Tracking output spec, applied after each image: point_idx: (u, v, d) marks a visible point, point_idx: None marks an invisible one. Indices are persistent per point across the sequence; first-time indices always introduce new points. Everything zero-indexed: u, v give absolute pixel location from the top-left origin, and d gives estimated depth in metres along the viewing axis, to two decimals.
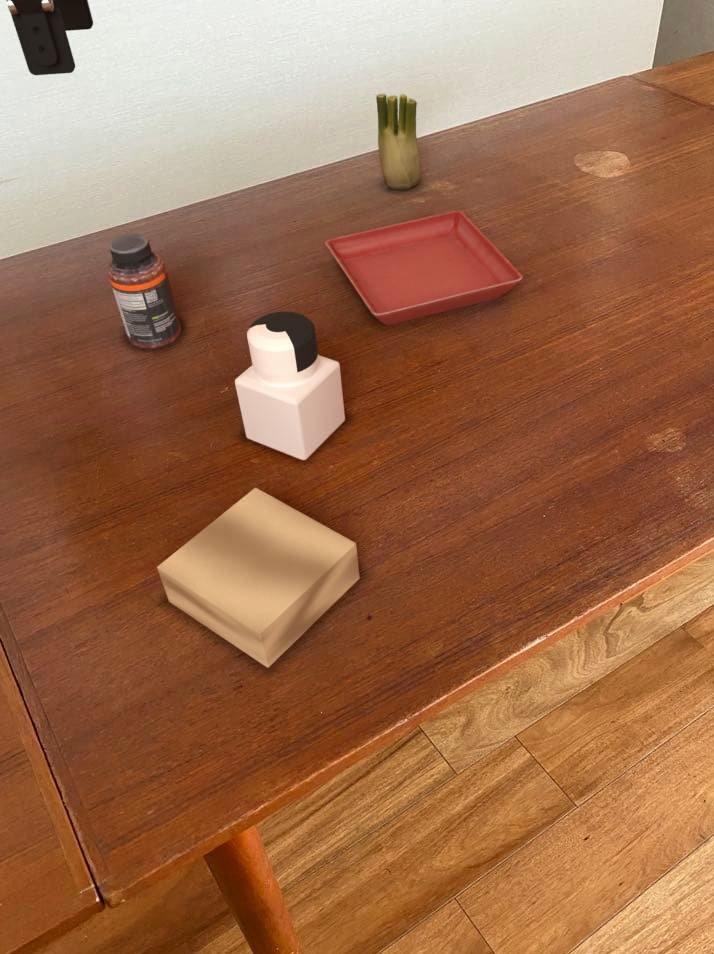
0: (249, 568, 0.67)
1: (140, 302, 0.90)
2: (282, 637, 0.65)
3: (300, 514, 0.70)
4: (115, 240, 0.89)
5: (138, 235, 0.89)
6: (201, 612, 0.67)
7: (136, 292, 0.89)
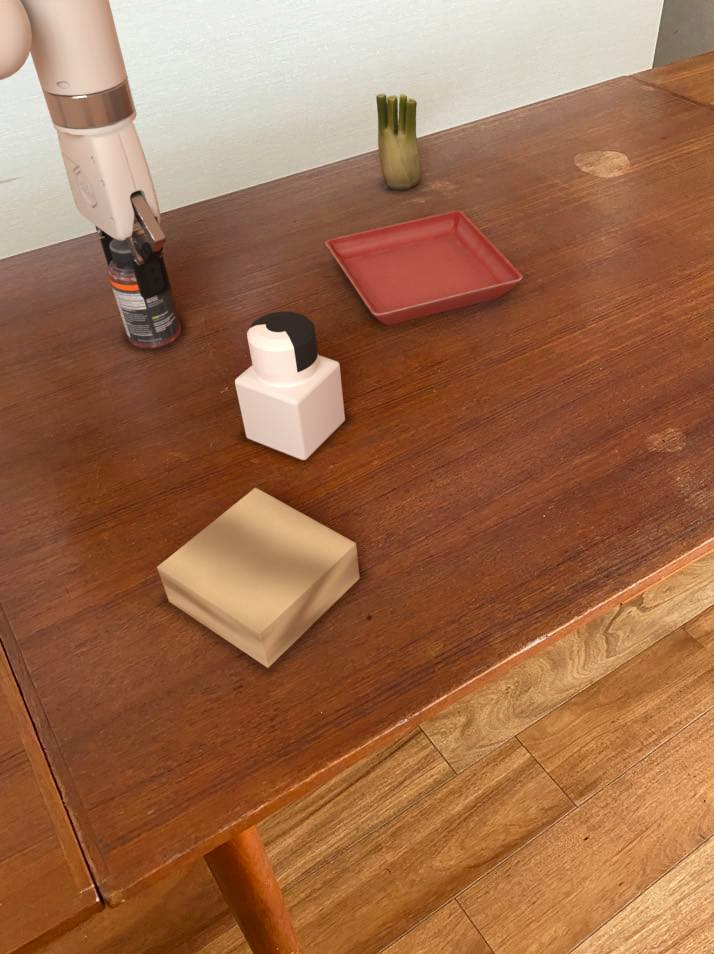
0: (249, 568, 0.67)
1: (140, 302, 0.90)
2: (282, 637, 0.65)
3: (300, 514, 0.70)
4: (115, 240, 0.89)
5: None
6: (201, 612, 0.67)
7: (136, 292, 0.89)
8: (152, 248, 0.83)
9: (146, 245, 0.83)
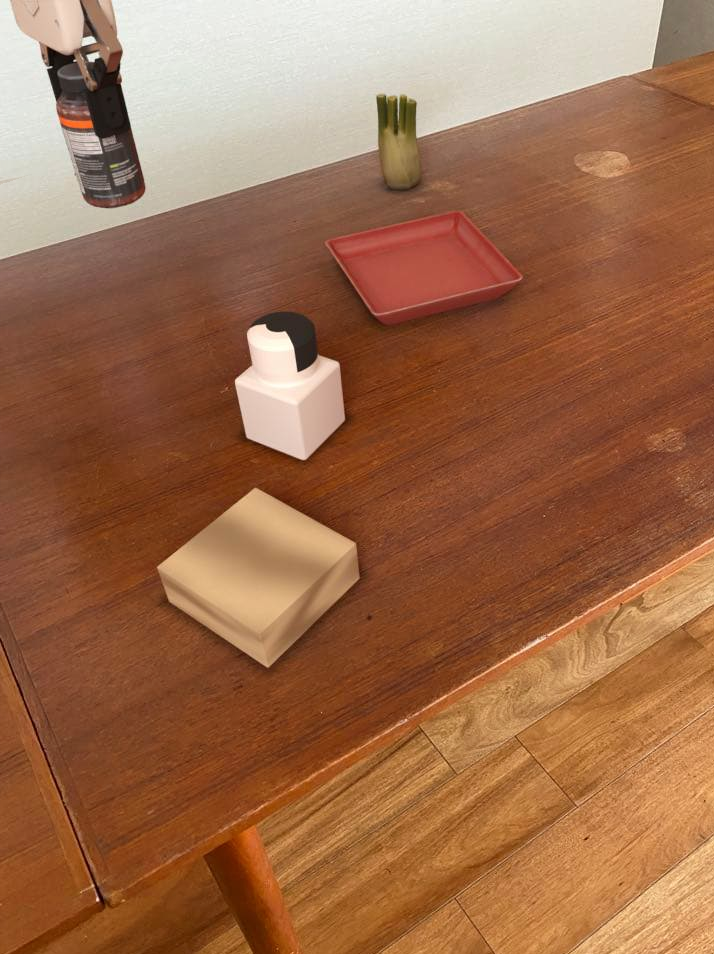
0: (249, 568, 0.67)
1: (95, 144, 0.76)
2: (282, 637, 0.65)
3: (300, 514, 0.70)
4: (64, 67, 0.75)
5: (92, 63, 0.75)
6: (201, 612, 0.67)
7: (90, 130, 0.75)
8: (106, 63, 0.69)
9: (99, 60, 0.69)
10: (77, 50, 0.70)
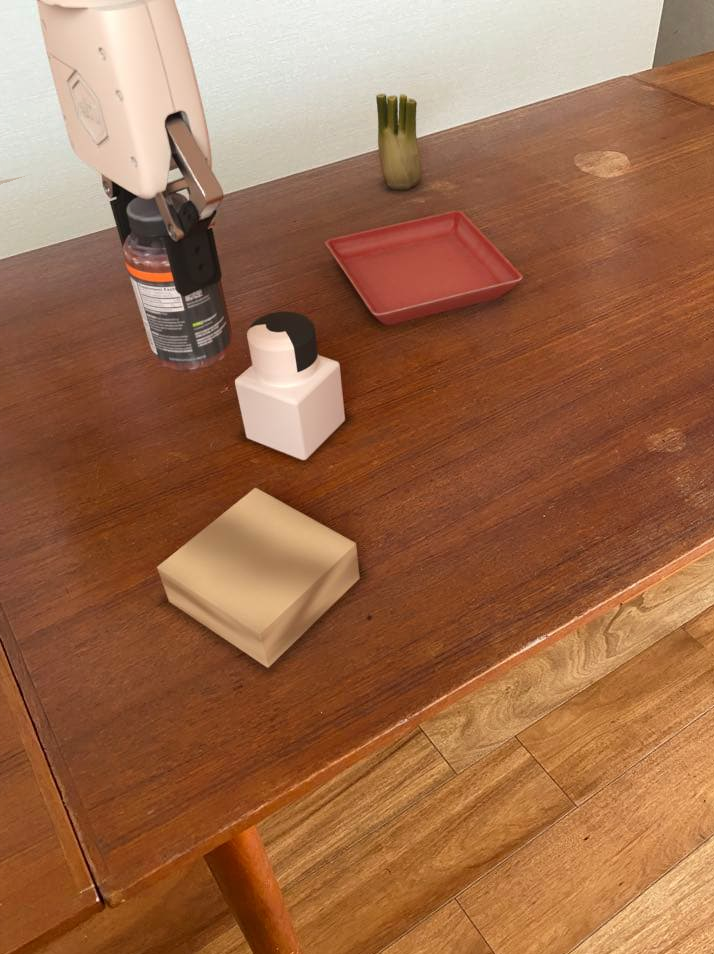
0: (249, 568, 0.67)
1: (175, 300, 0.57)
2: (282, 637, 0.65)
3: (300, 514, 0.70)
4: (135, 201, 0.56)
5: None
6: (201, 612, 0.67)
7: (170, 283, 0.56)
8: (200, 210, 0.50)
9: (189, 206, 0.50)
10: None
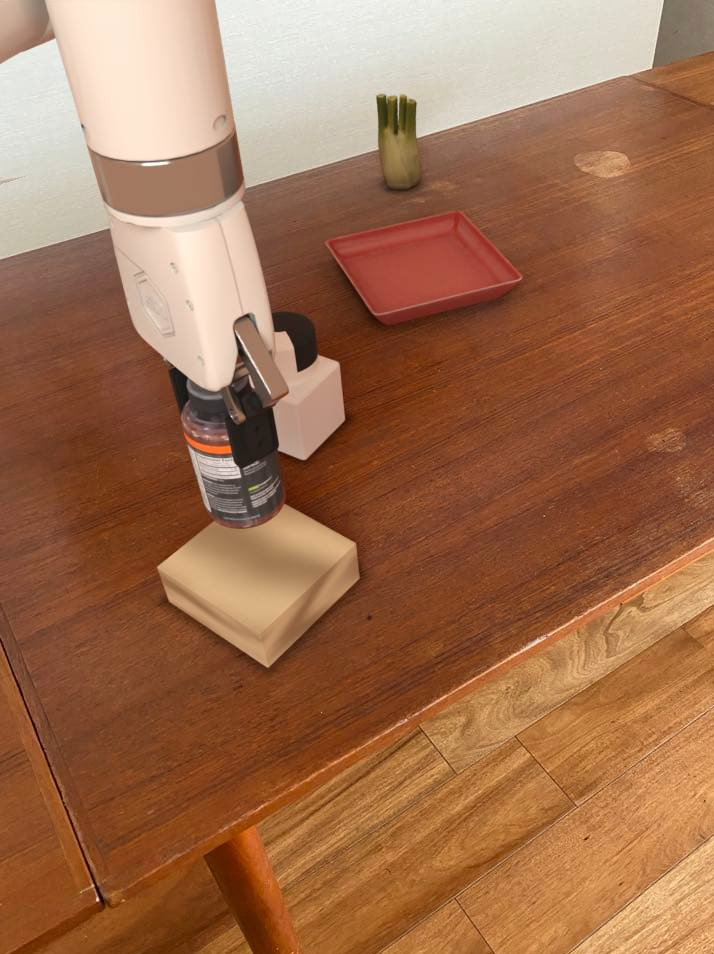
0: (249, 568, 0.67)
1: (233, 469, 0.57)
2: (282, 637, 0.65)
3: (300, 514, 0.70)
4: None
5: None
6: (201, 612, 0.67)
7: (228, 455, 0.56)
8: (265, 404, 0.50)
9: (254, 398, 0.50)
10: None
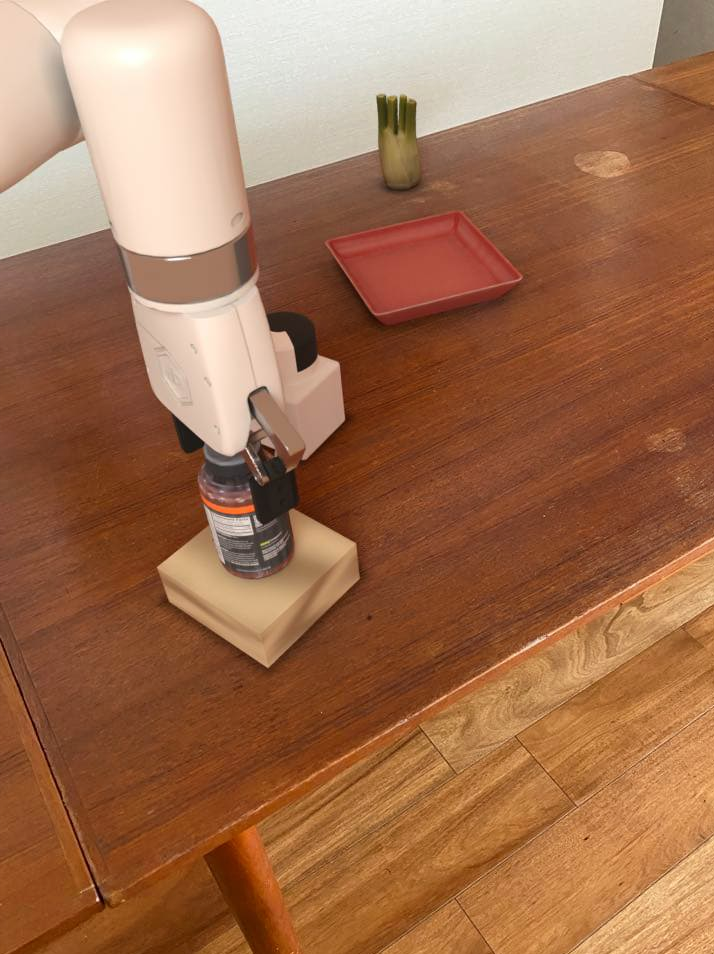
0: None
1: (246, 527, 0.61)
2: (283, 637, 0.65)
3: (300, 514, 0.70)
4: None
5: None
6: (201, 612, 0.67)
7: (242, 515, 0.60)
8: (286, 463, 0.52)
9: (276, 461, 0.53)
10: None
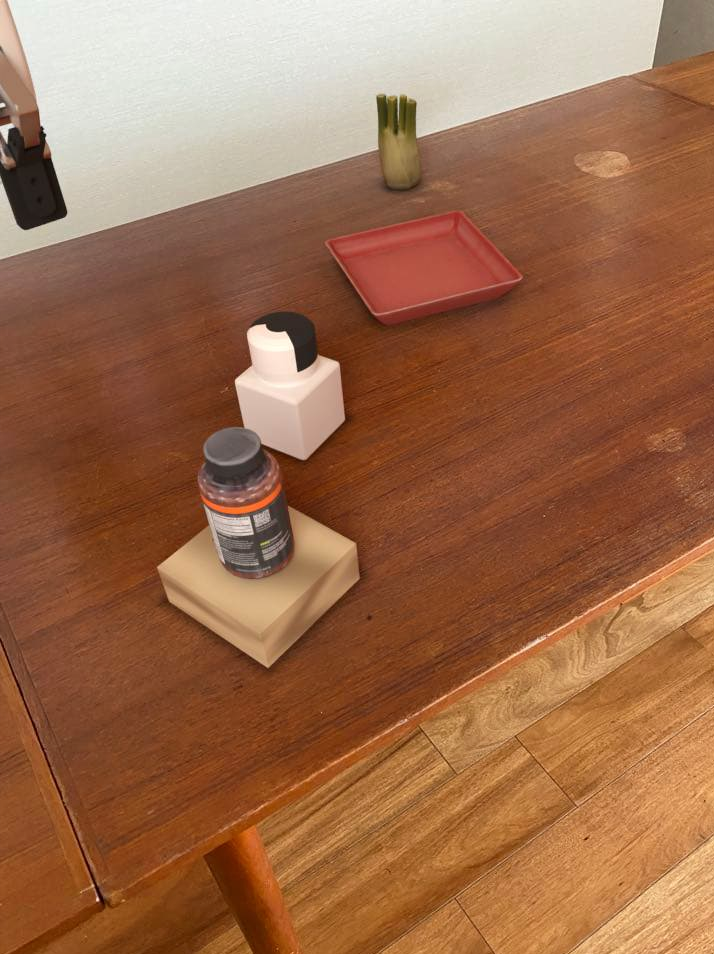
0: None
1: (246, 527, 0.61)
2: (282, 637, 0.65)
3: (300, 514, 0.70)
4: (211, 440, 0.60)
5: (244, 431, 0.60)
6: (201, 612, 0.67)
7: (242, 515, 0.60)
8: (19, 128, 0.49)
9: (12, 129, 0.49)
10: None
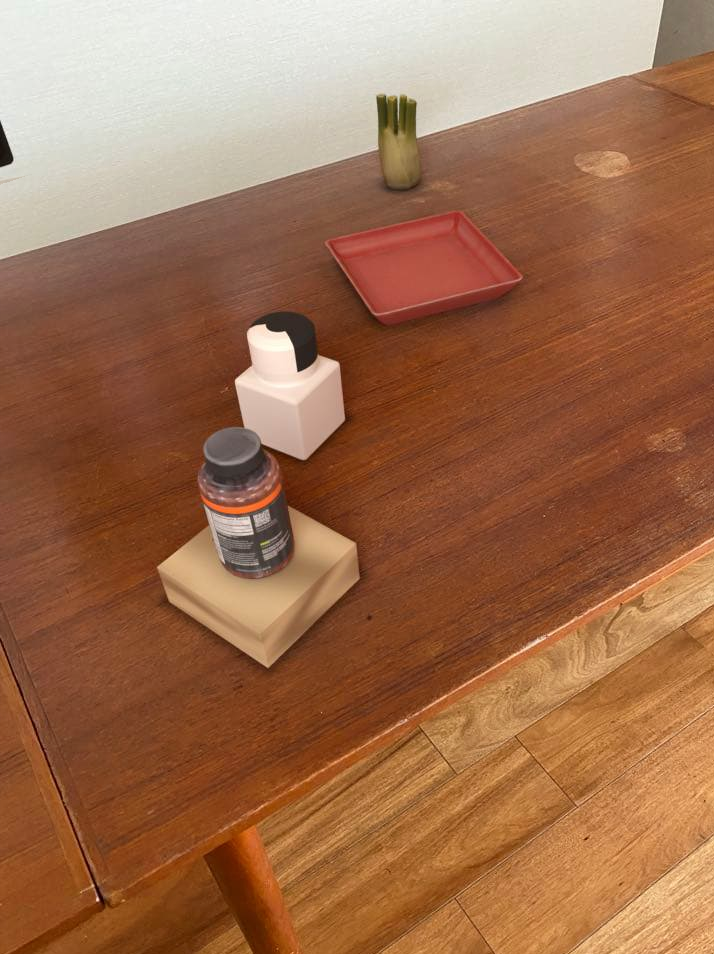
0: None
1: (246, 526, 0.61)
2: (282, 637, 0.65)
3: (300, 514, 0.70)
4: (211, 440, 0.60)
5: (244, 431, 0.60)
6: (201, 612, 0.67)
7: (242, 515, 0.60)
8: None
9: None
10: None
